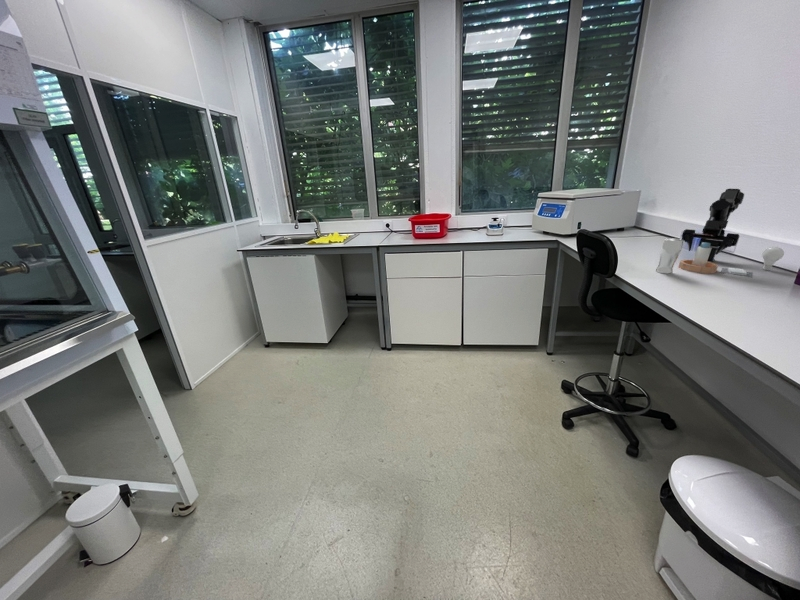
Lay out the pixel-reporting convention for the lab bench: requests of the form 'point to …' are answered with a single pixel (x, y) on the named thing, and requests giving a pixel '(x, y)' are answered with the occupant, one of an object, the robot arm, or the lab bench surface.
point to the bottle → (702, 254)
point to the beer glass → (669, 255)
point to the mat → (724, 270)
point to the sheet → (737, 271)
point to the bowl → (698, 267)
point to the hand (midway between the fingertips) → (702, 252)
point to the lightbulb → (771, 257)
